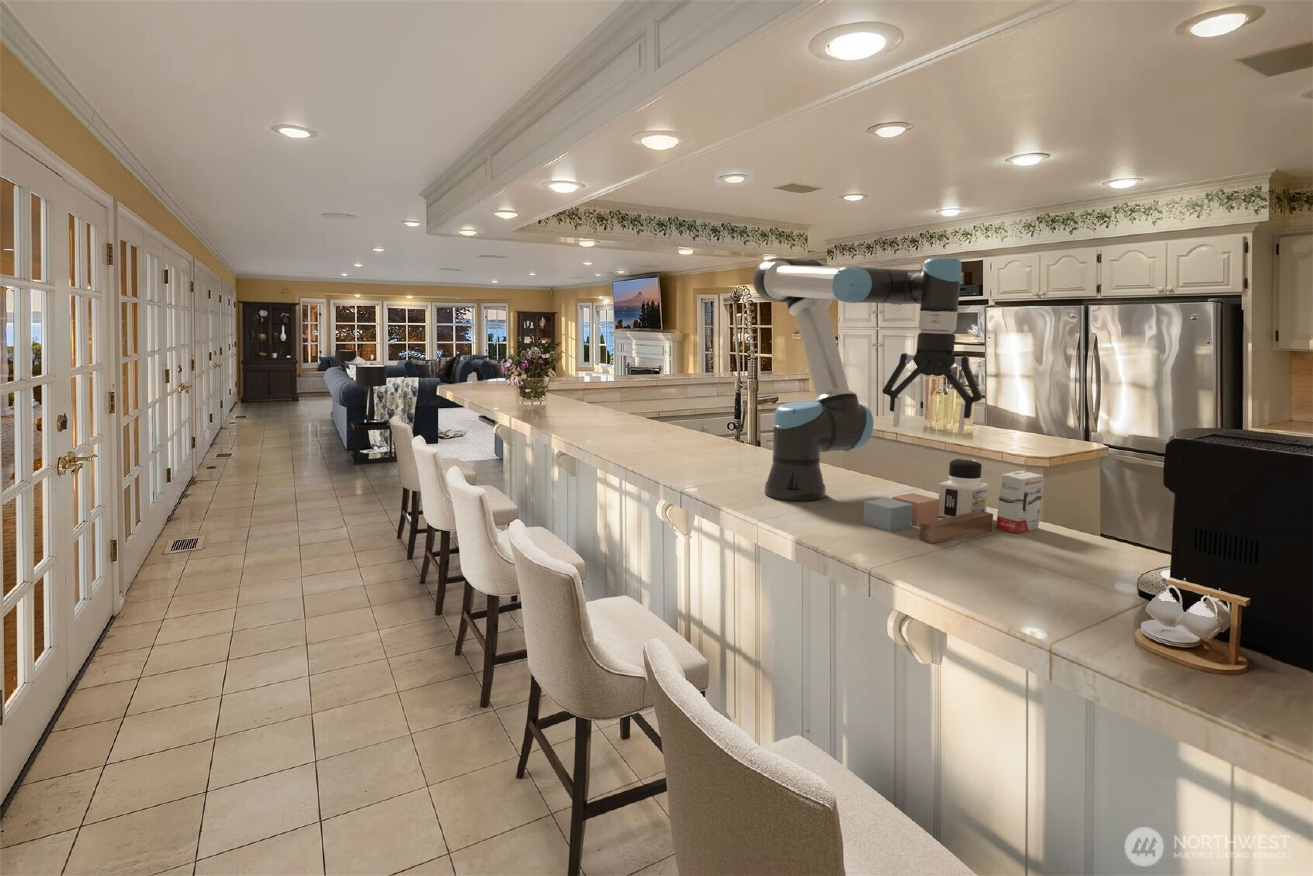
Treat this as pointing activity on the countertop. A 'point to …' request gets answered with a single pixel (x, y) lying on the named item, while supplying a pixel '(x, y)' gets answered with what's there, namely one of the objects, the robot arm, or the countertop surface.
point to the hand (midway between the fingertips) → (927, 429)
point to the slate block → (888, 514)
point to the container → (963, 489)
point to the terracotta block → (921, 507)
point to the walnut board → (955, 526)
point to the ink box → (1019, 501)
